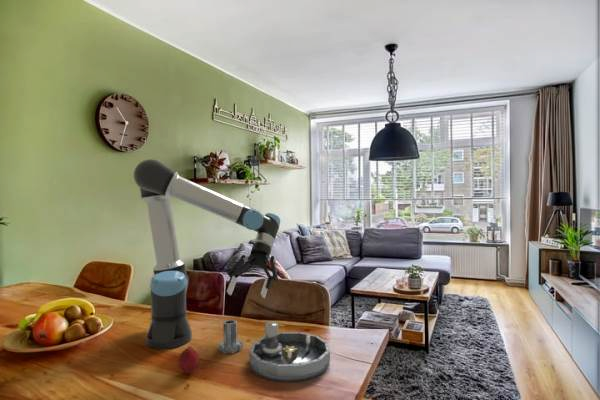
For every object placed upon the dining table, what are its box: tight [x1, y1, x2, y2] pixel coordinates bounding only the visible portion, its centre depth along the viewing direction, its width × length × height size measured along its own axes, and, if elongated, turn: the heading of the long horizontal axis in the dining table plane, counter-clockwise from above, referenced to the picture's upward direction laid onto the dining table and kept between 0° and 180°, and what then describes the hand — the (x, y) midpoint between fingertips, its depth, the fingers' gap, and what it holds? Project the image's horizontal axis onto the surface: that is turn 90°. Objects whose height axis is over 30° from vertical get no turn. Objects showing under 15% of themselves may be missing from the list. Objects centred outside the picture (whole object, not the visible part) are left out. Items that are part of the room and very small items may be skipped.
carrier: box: [249, 321, 331, 383], centre depth 109 cm, size 24×24×10 cm
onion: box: [177, 344, 200, 374], centre depth 103 cm, size 6×6×8 cm
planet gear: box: [217, 319, 243, 355], centre depth 119 cm, size 8×8×9 cm
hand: (245, 294), depth 129 cm, fingers open, 13 cm apart
